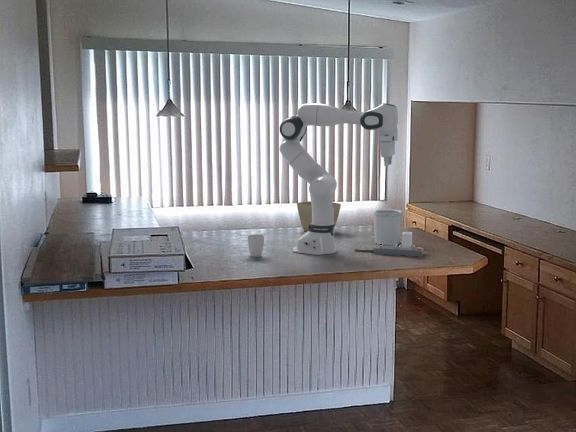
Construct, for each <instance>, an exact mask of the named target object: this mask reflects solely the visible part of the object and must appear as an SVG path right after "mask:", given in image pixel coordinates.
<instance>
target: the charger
mask: <svg viewBox="0 0 576 432" xmlns="http://www.w3.org/2000/svg"><path fill="white" fill-rule="evenodd" d="M401 244H402V247H405V248H412V245H413V232H412V231H403V232H402V233H401Z"/></svg>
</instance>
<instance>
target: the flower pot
mask: <svg viewBox="0 0 576 432" xmlns="http://www.w3.org/2000/svg"><path fill="white" fill-rule="evenodd" d="M332 203H333V208H334V227H335V228H336V224H337V222H338V218H339V215H340V210H341V205H342V204H341V203H338V202H333V201H332ZM296 207H297V213H298V217H299V220H300V221H299V222H300V225H301V227H302V229H303V231H304V232H308V231H309V230H308V225H309V224H310V223H312V204H311V200H310V201H300V202H296Z"/></svg>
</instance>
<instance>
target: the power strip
mask: <svg viewBox="0 0 576 432" xmlns="http://www.w3.org/2000/svg"><path fill="white" fill-rule="evenodd" d="M398 245H399V246H398ZM424 250H425V249H424V247H422V246H421V247H419V246H417V247H416V245H414V244H412V248H405V247H402V243H401V244H400V243H399V244H386V243H382V245H379V244H376V245H375V246H374V247H373V249H365V248H364V249H362V248H355V249H354V251H355V252H363V253H364V252H366V253H373V255H381V254H387V256H396V255H406V256H405V257H411V256H420V257H419V258H422V257H423V256H422V255H424V252H425V251H424Z"/></svg>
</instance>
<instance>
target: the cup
mask: <svg viewBox="0 0 576 432" xmlns="http://www.w3.org/2000/svg"><path fill="white" fill-rule="evenodd" d="M264 243H265V235H263V234H249V235H247V245H248V250H249V251H248V252H249V254H250V257H253V258H260V257H262V254H263V250H264Z"/></svg>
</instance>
